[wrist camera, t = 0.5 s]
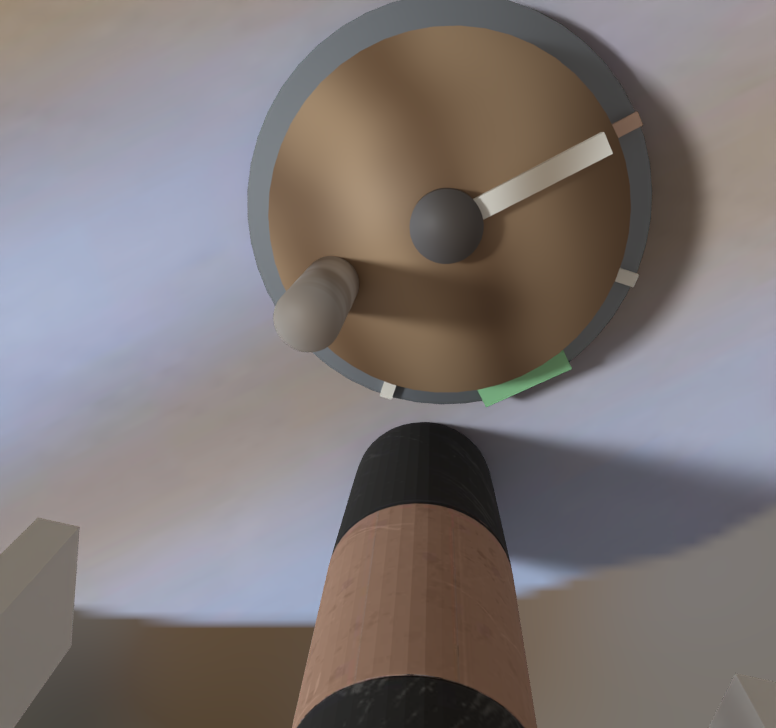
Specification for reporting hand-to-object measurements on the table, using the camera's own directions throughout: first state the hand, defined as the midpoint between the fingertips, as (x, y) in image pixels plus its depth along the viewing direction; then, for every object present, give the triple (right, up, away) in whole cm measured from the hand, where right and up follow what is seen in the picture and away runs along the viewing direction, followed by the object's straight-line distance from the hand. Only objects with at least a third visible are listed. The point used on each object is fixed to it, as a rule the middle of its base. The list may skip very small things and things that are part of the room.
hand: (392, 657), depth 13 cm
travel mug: (+2, -1, +24) cm, 24 cm away
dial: (+2, +12, +18) cm, 21 cm away
